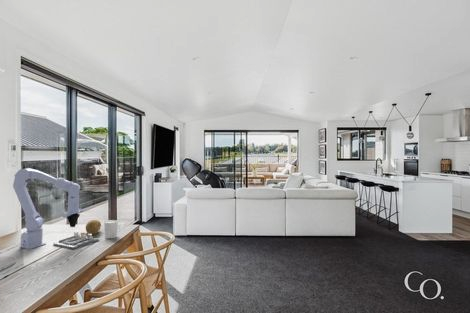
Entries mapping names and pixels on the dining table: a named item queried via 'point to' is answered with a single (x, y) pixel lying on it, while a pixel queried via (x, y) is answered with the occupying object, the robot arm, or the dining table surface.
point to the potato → (93, 227)
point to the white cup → (111, 228)
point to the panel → (75, 241)
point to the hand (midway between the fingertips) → (72, 226)
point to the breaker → (82, 235)
